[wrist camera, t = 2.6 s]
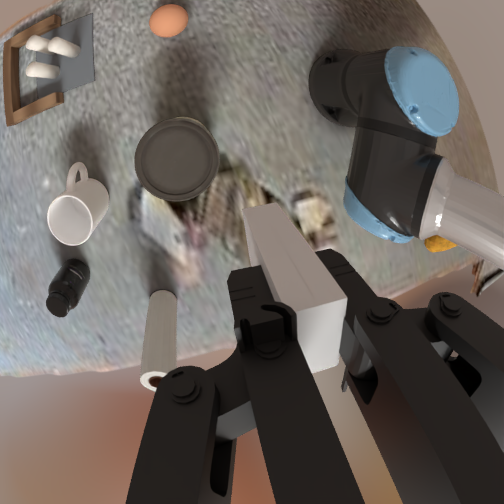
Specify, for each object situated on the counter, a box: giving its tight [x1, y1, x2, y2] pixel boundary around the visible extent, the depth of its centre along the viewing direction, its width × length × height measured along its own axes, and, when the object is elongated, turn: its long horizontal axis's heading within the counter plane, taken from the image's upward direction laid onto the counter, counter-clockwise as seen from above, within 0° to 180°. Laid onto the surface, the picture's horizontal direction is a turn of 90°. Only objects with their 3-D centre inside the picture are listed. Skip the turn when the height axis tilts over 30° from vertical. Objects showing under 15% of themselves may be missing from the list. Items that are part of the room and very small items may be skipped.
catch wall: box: [3, 14, 64, 127], centre depth 27 cm, size 12×18×3 cm, turn 4°
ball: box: [149, 4, 188, 37], centre depth 29 cm, size 6×6×6 cm
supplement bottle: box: [46, 259, 90, 317], centre depth 44 cm, size 7×7×12 cm
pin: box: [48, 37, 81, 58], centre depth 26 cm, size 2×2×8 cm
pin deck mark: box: [36, 13, 95, 100], centre depth 29 cm, size 12×14×1 cm
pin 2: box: [26, 62, 60, 79], centre depth 26 cm, size 2×2×8 cm
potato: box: [424, 235, 457, 252], centre depth 60 cm, size 7×14×7 cm, turn 93°
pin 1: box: [26, 35, 56, 55], centre depth 24 cm, size 2×2×8 cm
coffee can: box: [135, 117, 220, 201], centre depth 36 cm, size 10×10×14 cm
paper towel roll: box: [140, 290, 177, 392], centre depth 48 cm, size 7×6×21 cm
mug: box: [47, 162, 109, 246], centre depth 38 cm, size 12×8×10 cm
